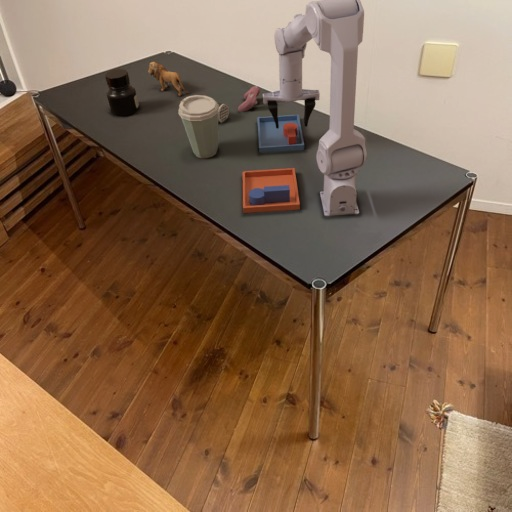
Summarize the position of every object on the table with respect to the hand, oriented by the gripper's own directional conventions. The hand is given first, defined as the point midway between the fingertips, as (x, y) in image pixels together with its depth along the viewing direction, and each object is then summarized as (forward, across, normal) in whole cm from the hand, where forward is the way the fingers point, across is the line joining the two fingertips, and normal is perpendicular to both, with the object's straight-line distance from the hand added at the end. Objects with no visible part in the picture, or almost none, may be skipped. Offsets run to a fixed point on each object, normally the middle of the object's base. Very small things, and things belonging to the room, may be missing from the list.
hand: (291, 125), depth 137 cm
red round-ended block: (+5, 0, -2) cm, 5 cm away
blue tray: (+6, +3, -4) cm, 8 cm away
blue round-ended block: (+5, +7, +26) cm, 28 cm away
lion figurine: (+6, +38, -39) cm, 55 cm away
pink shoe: (+6, +11, -24) cm, 27 cm away
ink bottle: (+6, +51, -27) cm, 58 cm away
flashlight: (+6, +25, -19) cm, 32 cm away
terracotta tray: (+6, +7, +22) cm, 24 cm away
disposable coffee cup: (+6, +24, +2) cm, 25 cm away
